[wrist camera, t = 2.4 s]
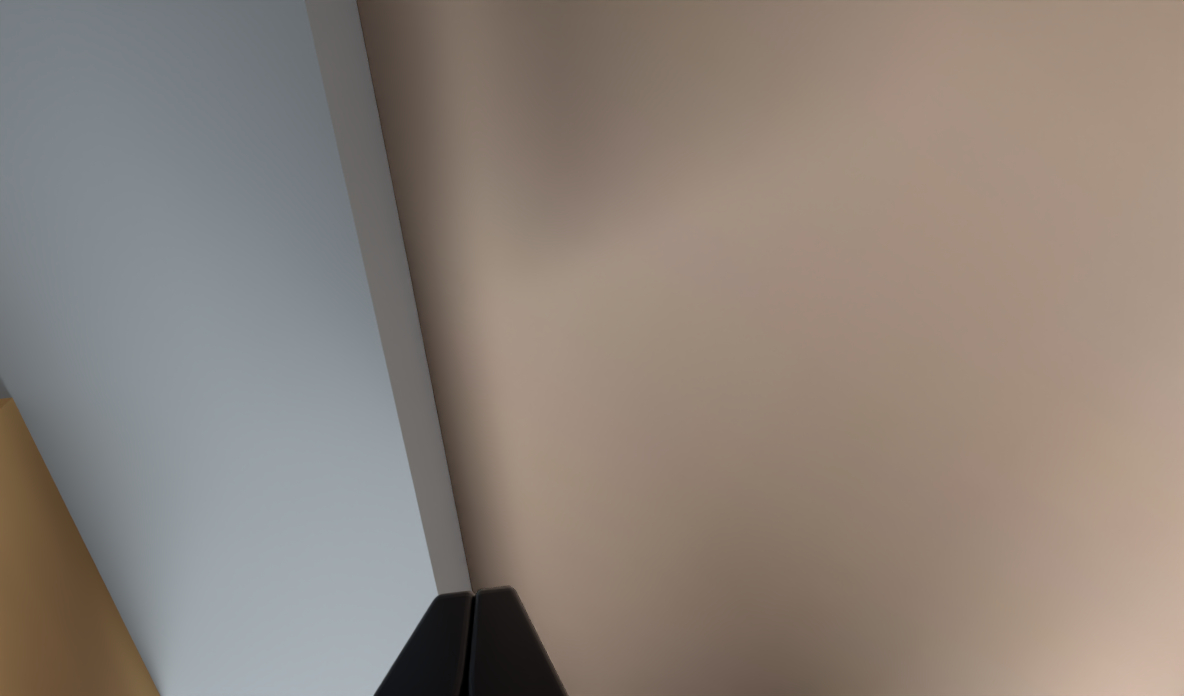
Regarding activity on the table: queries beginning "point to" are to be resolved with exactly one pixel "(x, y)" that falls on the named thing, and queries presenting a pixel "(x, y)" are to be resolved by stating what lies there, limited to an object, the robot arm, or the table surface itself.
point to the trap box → (222, 335)
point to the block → (53, 589)
